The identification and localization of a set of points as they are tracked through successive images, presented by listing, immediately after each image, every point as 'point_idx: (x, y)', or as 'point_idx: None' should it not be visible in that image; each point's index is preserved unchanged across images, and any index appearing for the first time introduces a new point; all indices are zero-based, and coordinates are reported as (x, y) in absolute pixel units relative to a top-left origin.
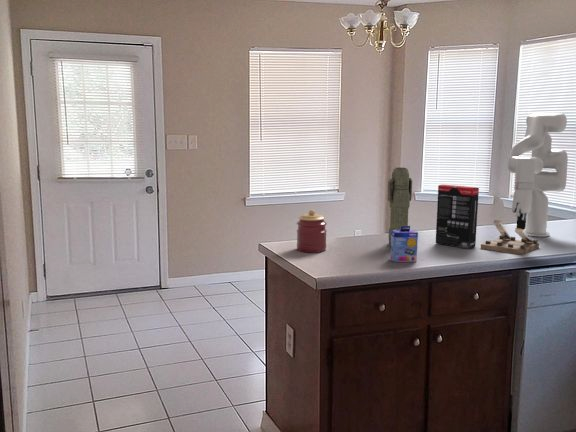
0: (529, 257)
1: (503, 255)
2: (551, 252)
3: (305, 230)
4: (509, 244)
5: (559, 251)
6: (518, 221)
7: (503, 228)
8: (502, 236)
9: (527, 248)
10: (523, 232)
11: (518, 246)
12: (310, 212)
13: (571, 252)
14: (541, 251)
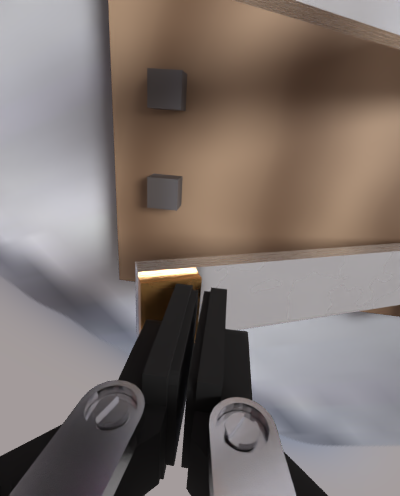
0: (99, 309)
1: (36, 182)
2: (304, 376)
3: None
4: (147, 188)
5: (358, 404)
6: (121, 380)
7: (343, 30)
8: None
9: None
10: None
11: (223, 232)
12: None
13: (362, 445)
14: (301, 334)
